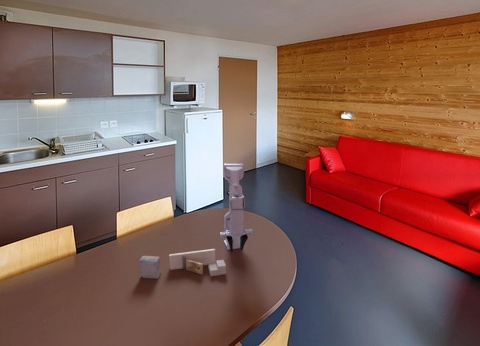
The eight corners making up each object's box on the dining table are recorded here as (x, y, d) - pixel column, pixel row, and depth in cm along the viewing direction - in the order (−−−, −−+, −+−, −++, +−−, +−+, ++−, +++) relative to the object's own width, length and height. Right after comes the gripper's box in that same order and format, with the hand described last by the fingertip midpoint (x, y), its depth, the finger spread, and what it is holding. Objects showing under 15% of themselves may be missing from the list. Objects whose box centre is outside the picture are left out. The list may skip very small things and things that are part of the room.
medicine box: (161, 273, 138) (160, 256, 135) (157, 279, 133) (156, 261, 131) (144, 272, 138) (142, 255, 136) (140, 278, 134) (138, 260, 132)
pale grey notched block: (208, 270, 141) (208, 261, 139) (223, 268, 142) (223, 259, 141) (210, 276, 136) (210, 267, 135) (225, 274, 138) (225, 265, 137)
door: (185, 270, 140) (184, 260, 138) (187, 268, 141) (186, 259, 140) (201, 275, 136) (200, 265, 135) (202, 273, 138) (202, 263, 136)
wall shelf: (169, 267, 142) (169, 254, 140) (214, 261, 147) (214, 248, 145) (170, 271, 139) (169, 257, 137) (215, 265, 144) (215, 251, 142)
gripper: (222, 228, 129) (222, 256, 133) (255, 224, 133) (254, 252, 137) (219, 221, 136) (219, 248, 140) (250, 218, 139) (249, 244, 143)
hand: (236, 250), depth 139 cm, fingers open, 4 cm apart
